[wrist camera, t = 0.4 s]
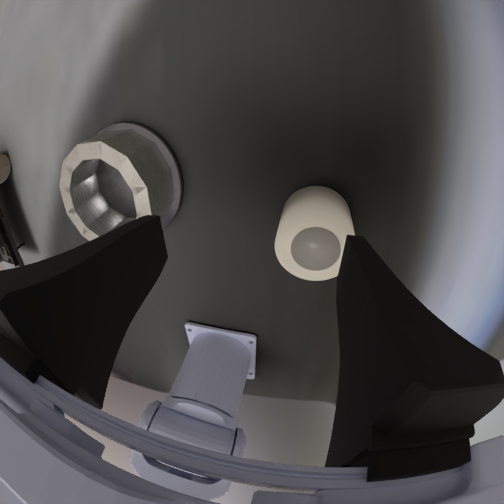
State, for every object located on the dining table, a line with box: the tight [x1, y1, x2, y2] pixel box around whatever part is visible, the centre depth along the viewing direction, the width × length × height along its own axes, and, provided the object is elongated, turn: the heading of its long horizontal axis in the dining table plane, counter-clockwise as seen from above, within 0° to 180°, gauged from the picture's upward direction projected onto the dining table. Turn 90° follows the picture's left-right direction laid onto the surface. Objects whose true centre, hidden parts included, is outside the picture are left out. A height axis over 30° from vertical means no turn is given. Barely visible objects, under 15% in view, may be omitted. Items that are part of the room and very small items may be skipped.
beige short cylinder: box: [275, 186, 355, 281], centre depth 18 cm, size 5×5×4 cm
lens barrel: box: [60, 122, 183, 241], centre depth 19 cm, size 10×10×4 cm
